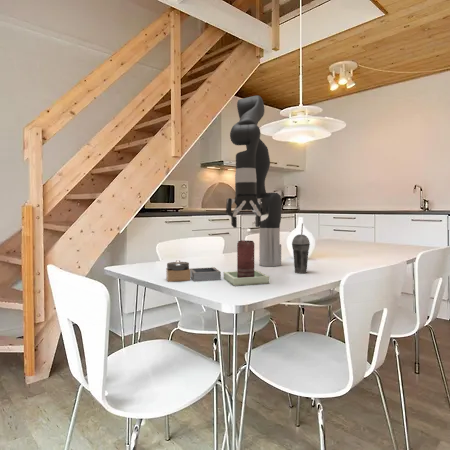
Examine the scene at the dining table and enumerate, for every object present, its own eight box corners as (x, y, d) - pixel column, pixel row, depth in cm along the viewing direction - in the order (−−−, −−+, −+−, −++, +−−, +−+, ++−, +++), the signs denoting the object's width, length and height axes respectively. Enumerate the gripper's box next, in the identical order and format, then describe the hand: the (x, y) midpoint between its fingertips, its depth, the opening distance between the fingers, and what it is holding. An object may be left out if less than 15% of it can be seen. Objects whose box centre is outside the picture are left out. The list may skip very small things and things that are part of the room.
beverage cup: (288, 272, 146) (288, 223, 145) (297, 270, 151) (297, 222, 150) (303, 274, 141) (304, 224, 140) (313, 272, 146) (313, 223, 145)
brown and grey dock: (214, 274, 141) (214, 257, 141) (220, 279, 132) (220, 260, 131) (165, 277, 136) (165, 259, 136) (168, 282, 127) (168, 263, 126)
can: (244, 277, 133) (244, 239, 133) (257, 279, 129) (257, 240, 128) (233, 279, 129) (233, 240, 128) (246, 281, 125) (246, 241, 124)
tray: (256, 276, 137) (256, 270, 137) (269, 283, 124) (269, 276, 124) (223, 278, 134) (223, 272, 133) (233, 286, 121) (233, 278, 121)
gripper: (260, 182, 133) (260, 226, 134) (223, 182, 129) (224, 227, 130) (268, 181, 125) (268, 227, 126) (229, 180, 122) (230, 228, 122)
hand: (246, 227), depth 128 cm, fingers open, 8 cm apart
